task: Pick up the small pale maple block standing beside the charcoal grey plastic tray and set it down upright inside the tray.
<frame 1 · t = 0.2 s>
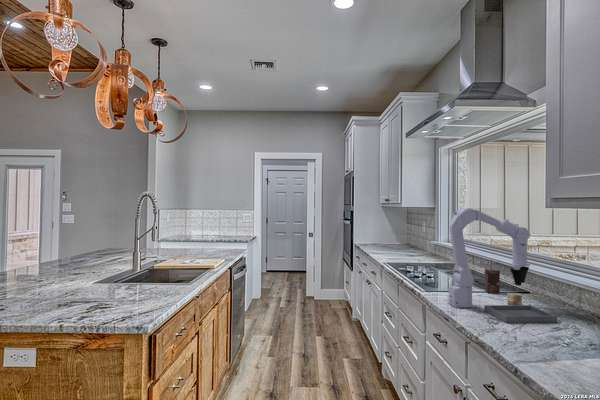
hand: (519, 283, 166), 10 cm above the countertop, fingers open, 7 cm apart
maple block: (514, 307, 163), on the countertop
box: (492, 293, 191), on the countertop
tray: (519, 316, 150), on the countertop
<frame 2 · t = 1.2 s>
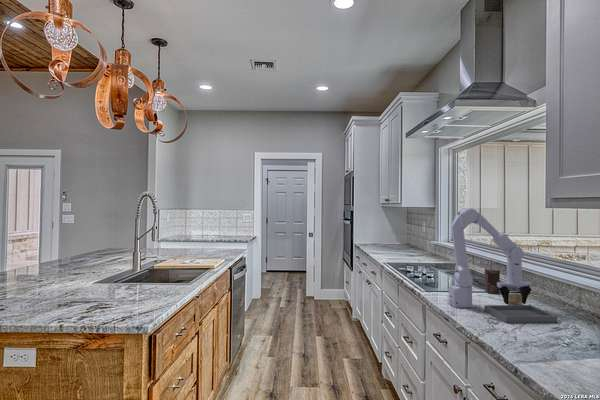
hand: (514, 303, 163), 2 cm above the countertop, fingers open, 7 cm apart
nothing on the countertop moved.
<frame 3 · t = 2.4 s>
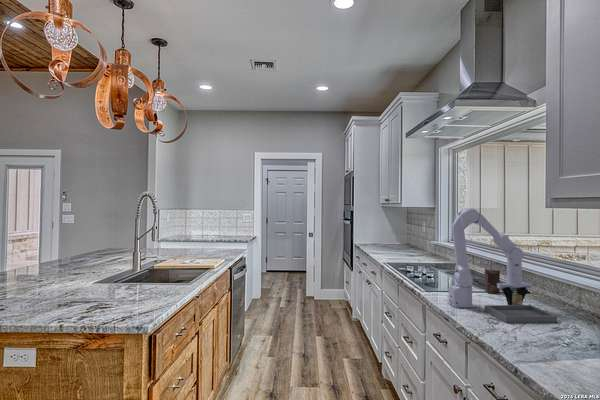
hand: (514, 304, 163), 1 cm above the countertop, fingers closed on maple block, 4 cm apart
maple block: (514, 307, 163), on the countertop, touching gripper
everything else where it was.
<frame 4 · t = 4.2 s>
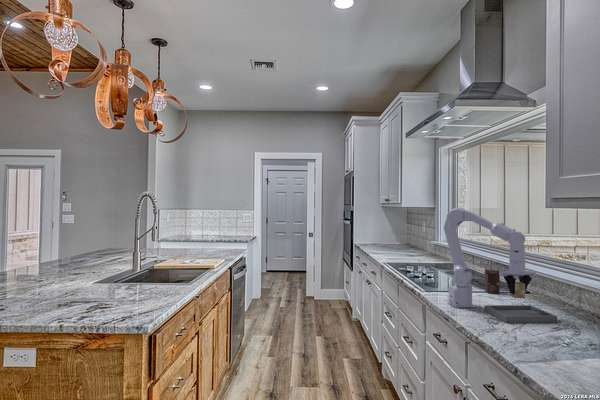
hand: (517, 293, 154), 8 cm above the countertop, fingers closed on maple block, 4 cm apart
maple block: (517, 296, 155), point 7 cm above the countertop, touching gripper
everything else where it was.
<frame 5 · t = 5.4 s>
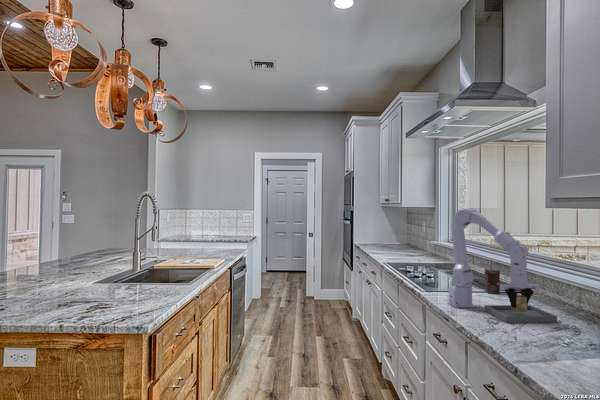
hand: (519, 307, 150), 4 cm above the countertop, fingers closed on maple block, 4 cm apart
maple block: (518, 310, 150), point 2 cm above the countertop, touching gripper
everything else where it was.
when the fingers open (4 cm above the countertop, at t = 6.2 s): maple block drops 1 cm, resting on tray.
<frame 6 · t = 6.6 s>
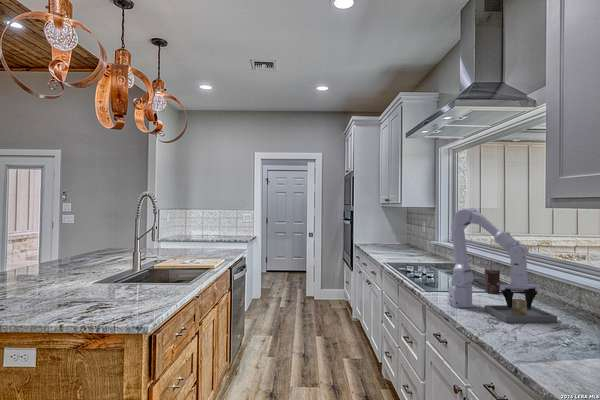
hand: (518, 307, 150), 4 cm above the countertop, fingers open, 7 cm apart
maple block: (518, 314, 150), point 1 cm above the countertop, touching tray
everything else where it was.
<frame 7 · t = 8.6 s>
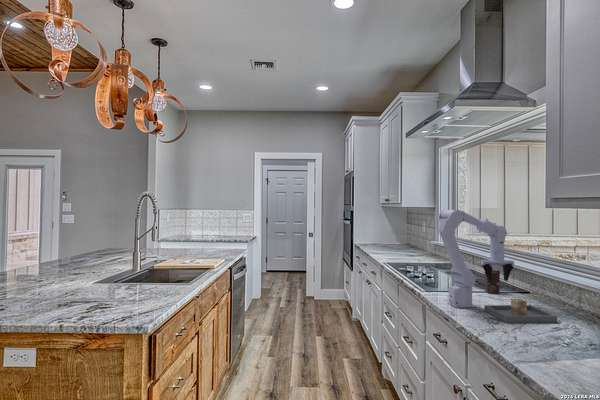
hand: (497, 280, 171), 10 cm above the countertop, fingers open, 7 cm apart
nothing on the countertop moved.
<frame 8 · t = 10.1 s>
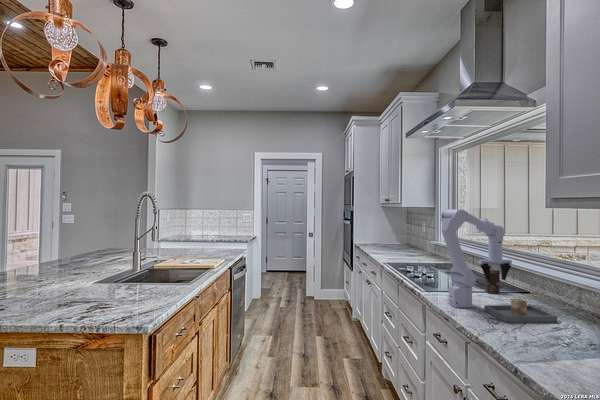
hand: (495, 279, 173), 10 cm above the countertop, fingers open, 7 cm apart
nothing on the countertop moved.
at the end: maple block inside the target area on the tray (0.2 cm from its centre), point 0.8 cm above the tray's base; maple block tilted 0°; the gripper is holding nothing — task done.
